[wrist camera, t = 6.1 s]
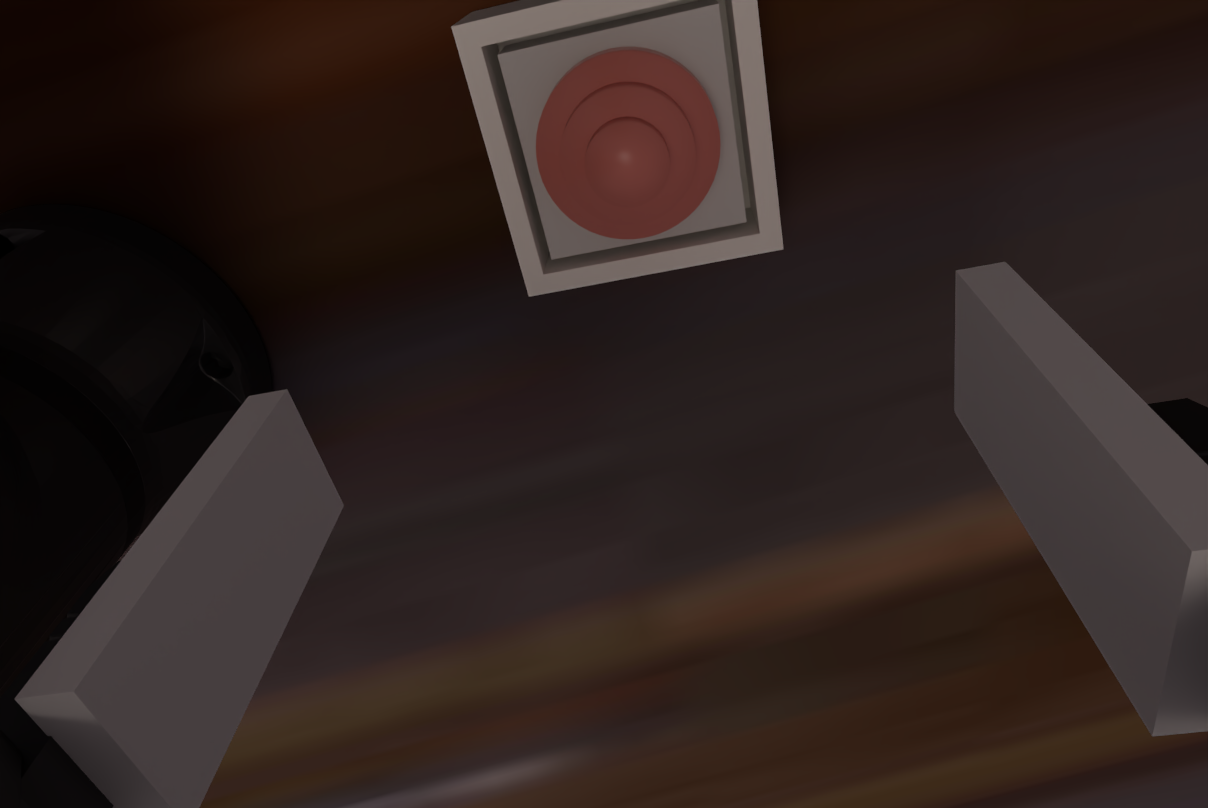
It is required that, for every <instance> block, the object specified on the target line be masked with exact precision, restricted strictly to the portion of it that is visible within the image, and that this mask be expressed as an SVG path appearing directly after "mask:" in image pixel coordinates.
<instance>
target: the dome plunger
mask: <svg viewBox="0 0 1208 808" xmlns="http://www.w3.org/2000/svg"><path fill="white" fill-rule="evenodd" d="M498 59H499V63H500V67H501V70H502V74H503V78H504V82H505V86H506V89H507V93H508V97H509V101H510V104H511V108H512V112H513V116H514V120H515V123H516V127H517V131H518V135H519V138H520V142H521V146H522V150H523V154H524V157H525V161H526V165H527V169H528V172H529V176H530V180H531V184H532V188H533V191H534V195H535V199H536V203H537V206H538V210H539V214H540V218H541V222H542V225H543V229H544V233H545V237H546V240H547V244H548V248H549V252H550V255H551V259H552V260H553V259H558V258H563V257H568V256H574V255H579V254H584V253H589V252H594V251H600V250H605V249H610V248H615V247H620V246H626V245H631V244H636V243H641V242H646V241H652V240H657V239H662V238H667V237H672V236H678V235H683V234H688V233H693V232H698V231H704V230H709V229H714V228H719V227H724V226H730V225H735V224H740V223H745V222H747V220H746V212H745V204H744V197H743V189H742V181H741V173H740V165H739V158H738V150H737V142H736V134H735V127H734V119H733V111H732V103H731V95H730V88H729V80H728V72H727V64H726V56H725V49H724V41H723V33H722V25H721V18H720V10H719V3H718V2H717V1H716V0H699V1H695V2H690V3H686V4H682V5H677V6H673V7H669V8H664V9H660V10H656V11H652V12H647V13H643V14H639V15H634V16H630V17H626V18H621V19H617V20H613V21H609V22H604V23H600V24H596V25H591V26H587V27H583V28H578V29H574V30H570V31H566V32H561V33H557V34H553V35H548V36H544V37H540V38H535V39H531V40H527V41H523V42H518V43H514V44H510V45H505V47H504V48H503V49H502V50H501V51H500V52H499V53H498Z"/></svg>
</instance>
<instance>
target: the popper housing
mask: <svg viewBox="0 0 1208 808" xmlns="http://www.w3.org/2000/svg"><path fill="white" fill-rule="evenodd" d="M695 1H699V0H519V1H515V2H511V3H507V4H502V5H498V6H494V7H490V8H486V9H482V10H477V11H473V12H471V13H470V14H468V15H467V16H465V17H464V18H463V19H461V20H460V21H458V22H457V23H456V24H454V25H453V26H451V28H452V31H453V35H454V38H455V42H456V45H457V49H458V52H459V56H460V59H461V63H462V66H463V70H464V73H465V76H466V80H467V83H468V87H469V90H470V94H471V97H472V101H473V104H474V108H475V111H476V115H477V118H478V122H479V125H480V129H481V132H482V136H483V139H484V143H485V146H486V149H487V153H488V156H489V160H490V163H491V167H492V170H493V174H494V177H495V181H496V184H497V188H498V191H499V195H500V198H501V202H502V205H503V209H504V212H505V216H506V219H507V222H508V226H509V229H510V233H511V236H512V240H513V243H514V247H515V250H516V254H517V257H518V261H519V264H520V268H521V271H522V275H523V278H524V282H525V285H526V289H527V292H528V295H529V297H531V296H536V295H541V294H547V293H552V292H557V291H563V290H568V289H573V288H579V287H584V286H590V285H595V284H600V283H606V282H611V281H616V280H622V279H627V278H633V277H638V276H643V275H649V274H654V273H659V272H665V271H670V270H675V269H681V268H686V267H692V266H697V265H702V264H708V263H713V262H718V261H724V260H729V259H734V258H740V257H745V256H751V255H756V254H761V253H767V252H772V251H777V250H783V240H782V231H781V221H780V212H779V202H778V193H777V184H776V174H775V165H774V155H773V146H772V136H771V127H770V117H769V108H768V99H767V89H766V80H765V70H764V61H763V51H762V42H761V33H760V23H759V14H758V4H757V0H716V1H717V2H718V3H719V10H720V18H721V25H722V33H723V41H724V49H725V56H726V64H727V72H728V80H729V88H730V95H731V103H732V111H733V119H734V127H735V134H736V142H737V150H738V158H739V165H740V173H741V181H742V189H743V197H744V204H745V212H746V220H747V222H745V223H740V224H735V225H730V226H724V227H719V228H714V229H709V230H704V231H698V232H693V233H688V234H683V235H678V236H672V237H667V238H662V239H657V240H652V241H646V242H641V243H636V244H631V245H626V246H620V247H615V248H610V249H605V250H600V251H594V252H589V253H584V254H579V255H574V256H568V257H563V258H558V259H553V260H552V259H551V255H550V252H549V248H548V244H547V240H546V237H545V233H544V229H543V225H542V222H541V218H540V214H539V210H538V206H537V203H536V199H535V195H534V191H533V188H532V184H531V180H530V176H529V172H528V169H527V165H526V161H525V157H524V154H523V150H522V146H521V142H520V138H519V135H518V131H517V127H516V123H515V120H514V116H513V112H512V108H511V104H510V101H509V97H508V93H507V89H506V86H505V82H504V78H503V74H502V70H501V67H500V63H499V59H498V53H499V52H500V51H501V50H502V49H503V48H504V47H505V45H510V44H514V43H518V42H523V41H527V40H531V39H535V38H540V37H544V36H548V35H553V34H557V33H561V32H566V31H570V30H574V29H578V28H583V27H587V26H591V25H596V24H600V23H604V22H609V21H613V20H617V19H621V18H626V17H630V16H634V15H639V14H643V13H647V12H652V11H656V10H660V9H664V8H669V7H673V6H677V5H682V4H686V3H690V2H695Z"/></svg>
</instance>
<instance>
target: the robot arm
mask: <svg viewBox="0 0 1208 808" xmlns="http://www.w3.org/2000/svg"><path fill="white" fill-rule="evenodd" d="M954 412H955V414H956V415H957V417H958V419H959V420H960V422H961V424H962V425H963V427H964V429H965V430H966V432H967V433H968V435H969V437H970V438H971V440H972V442H973V443H974V445H975V447H976V448H977V450H978V452H979V453H980V455H981V456H982V458H983V460H984V461H985V463H986V465H987V466H988V468H989V470H990V471H991V473H992V474H993V476H994V478H995V479H996V481H997V483H998V484H999V486H1000V488H1001V489H1002V491H1003V493H1004V494H1005V496H1006V497H1007V499H1008V501H1009V502H1010V504H1011V506H1012V507H1013V509H1014V511H1015V512H1016V514H1017V515H1018V517H1019V519H1020V520H1021V522H1022V524H1023V525H1024V527H1025V529H1026V530H1027V532H1028V534H1029V535H1030V537H1031V538H1032V540H1033V542H1034V543H1035V545H1036V547H1037V548H1038V550H1039V552H1040V553H1041V555H1042V556H1043V558H1044V560H1045V561H1046V563H1047V565H1048V566H1049V568H1050V570H1051V571H1052V573H1053V575H1054V576H1055V578H1056V579H1057V581H1058V583H1059V584H1060V586H1061V588H1062V589H1063V591H1064V593H1065V594H1066V596H1067V597H1068V599H1069V601H1070V602H1071V604H1072V606H1073V607H1074V609H1075V611H1076V612H1077V614H1078V616H1079V617H1080V619H1081V620H1082V622H1083V624H1084V625H1085V627H1086V629H1087V630H1088V632H1089V634H1090V635H1091V637H1092V638H1093V640H1094V642H1095V643H1096V645H1097V647H1098V648H1099V650H1100V652H1101V653H1102V655H1103V657H1104V658H1105V660H1106V661H1107V663H1108V665H1109V666H1110V668H1111V670H1112V671H1113V673H1114V675H1115V676H1116V678H1117V679H1118V681H1119V683H1120V684H1121V686H1122V688H1123V689H1124V691H1125V693H1126V694H1127V696H1128V698H1129V699H1130V701H1131V702H1132V704H1133V706H1134V707H1135V709H1136V711H1137V712H1138V714H1139V716H1140V717H1141V719H1142V720H1143V722H1144V724H1145V725H1146V727H1147V729H1148V730H1149V732H1150V734H1151V735H1152V736H1162V735H1172V734H1183V733H1193V732H1203V731H1208V407H1205V406H1203V405H1201V404H1199V403H1197V402H1194V401H1192V400H1190V399H1188V398H1185V399H1179V400H1172V401H1165V402H1159V403H1152V404H1146V403H1145V402H1144V401H1143V400H1142V399H1141V398H1140V397H1139V396H1138V395H1137V394H1136V393H1135V392H1134V391H1133V390H1132V389H1131V388H1130V387H1129V386H1128V385H1127V384H1126V383H1125V382H1124V381H1123V380H1122V379H1121V378H1120V377H1119V376H1118V375H1117V374H1116V373H1115V372H1114V370H1113V369H1112V368H1111V367H1110V366H1109V365H1108V364H1107V363H1106V362H1105V361H1104V360H1103V359H1102V358H1101V357H1100V356H1099V355H1098V354H1097V353H1096V352H1095V351H1094V350H1093V349H1092V348H1091V347H1090V346H1089V345H1088V344H1087V343H1086V342H1085V341H1084V340H1083V339H1082V338H1081V337H1080V336H1079V335H1078V334H1077V333H1076V332H1075V331H1074V330H1073V329H1072V328H1071V327H1070V326H1069V325H1068V324H1067V323H1066V322H1065V321H1064V320H1063V319H1062V318H1061V317H1060V316H1059V315H1058V314H1057V313H1056V312H1055V311H1054V310H1053V309H1052V308H1051V307H1050V306H1049V305H1048V304H1047V303H1046V302H1045V301H1044V300H1043V299H1042V298H1041V297H1040V296H1039V295H1038V294H1037V293H1036V292H1035V291H1034V290H1033V289H1032V288H1031V287H1030V286H1029V285H1028V284H1027V283H1026V282H1025V281H1024V280H1023V279H1022V278H1021V277H1020V276H1019V275H1018V274H1017V273H1016V272H1015V271H1014V270H1013V269H1012V268H1011V267H1010V266H1009V265H1008V264H1007V263H1006V262H1001V263H996V264H990V265H984V266H979V267H973V268H967V269H962V270H956V288H955V382H954ZM343 507H344V505H343V502H342V500H341V498H340V496H339V494H338V492H337V490H336V488H335V486H334V484H333V482H332V480H331V478H330V476H329V474H328V472H327V470H326V468H325V466H324V464H323V462H322V459H321V457H320V455H319V453H318V451H317V449H316V447H315V445H314V443H313V441H312V439H311V437H310V435H309V433H308V431H307V429H306V427H305V425H304V423H303V421H302V418H301V416H300V414H299V412H298V410H297V408H296V406H295V404H294V402H293V400H292V398H291V396H290V394H289V392H288V390H287V389H286V390H280V391H274V392H272V382H271V373H270V368H269V363H268V359H267V356H266V352H265V349H264V347H263V344H262V341H261V339H260V337H259V335H258V332H257V330H256V328H255V327H254V325H253V323H252V321H251V319H250V318H249V316H248V314H247V313H246V311H245V310H244V308H243V307H242V305H241V304H240V303H239V301H238V300H237V299H236V297H235V296H234V295H233V294H232V292H231V291H230V290H229V289H228V288H227V286H226V285H225V284H224V283H223V282H222V281H221V280H220V279H219V278H218V277H217V276H216V275H215V274H214V273H213V272H212V271H211V270H210V269H209V268H208V267H206V266H205V265H204V264H203V263H202V262H201V261H200V260H198V259H197V258H196V257H194V256H193V255H192V254H191V253H189V252H188V251H187V250H185V249H184V248H182V247H181V246H179V245H178V244H176V243H175V242H173V241H172V240H170V239H168V238H167V237H165V236H163V235H162V234H160V233H158V232H156V231H154V230H152V229H150V228H148V227H146V226H144V225H142V224H140V223H137V222H135V221H132V220H130V219H127V218H125V217H122V216H119V215H116V214H113V213H109V212H106V211H102V210H98V209H93V208H88V207H83V206H75V205H63V204H43V205H33V206H27V207H21V208H17V209H14V210H10V211H7V212H4V213H2V214H0V808H199V807H200V805H201V802H202V800H203V798H204V796H205V794H206V792H207V790H208V788H209V786H210V784H211V782H212V780H213V777H214V775H215V773H216V771H217V769H218V767H219V765H220V763H221V761H222V759H223V757H224V755H225V752H226V750H227V748H228V746H229V744H230V742H231V740H232V738H233V736H234V734H235V732H236V730H237V727H238V725H239V723H240V721H241V719H242V717H243V715H244V713H245V711H246V709H247V707H248V705H249V702H250V700H251V698H252V696H253V694H254V692H255V690H256V688H257V686H258V684H259V682H260V680H261V677H262V675H263V673H264V671H265V669H266V667H267V665H268V663H269V661H270V659H271V657H272V655H273V652H274V650H275V648H276V646H277V644H278V642H279V640H280V638H281V636H282V634H283V632H284V630H285V627H286V625H287V623H288V621H289V619H290V617H291V615H292V613H293V611H294V609H295V607H296V604H297V602H298V600H299V598H300V596H301V594H302V592H303V590H304V588H305V586H306V584H307V582H308V579H309V577H310V575H311V573H312V571H313V569H314V567H315V565H316V563H317V561H318V559H319V557H320V554H321V552H322V550H323V548H324V546H325V544H326V542H327V540H328V538H329V536H330V534H331V532H332V529H333V527H334V525H335V523H336V521H337V519H338V517H339V515H340V513H341V511H342V509H343ZM140 534H142V535H141V536H140V537H139V538H138V540H137V541H136V542H135V544H134V545H133V546H132V548H131V549H130V550H129V551H128V553H127V554H126V555H125V557H124V558H123V559H122V560H121V561H118V560H119V558H120V557H121V556H122V554H123V553H124V552H125V551H126V549H127V548H128V547H129V546H130V544H131V543H132V542H133V541H134V539H135V538H136V537H137V536H139V535H140ZM117 561H118V562H117Z"/></svg>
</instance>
